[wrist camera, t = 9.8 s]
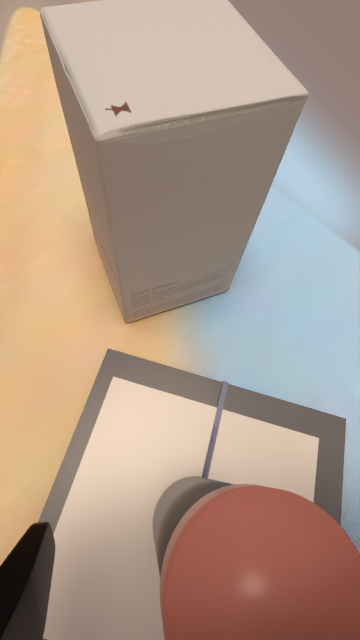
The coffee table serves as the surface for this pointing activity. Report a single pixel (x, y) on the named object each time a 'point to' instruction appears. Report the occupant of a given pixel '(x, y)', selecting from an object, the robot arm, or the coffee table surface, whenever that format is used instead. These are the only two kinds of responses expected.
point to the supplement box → (170, 138)
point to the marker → (252, 565)
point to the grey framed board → (164, 482)
